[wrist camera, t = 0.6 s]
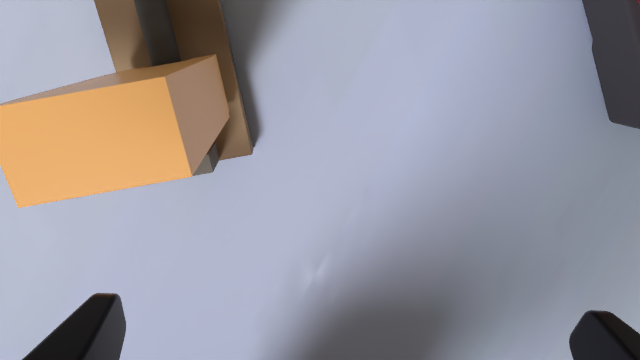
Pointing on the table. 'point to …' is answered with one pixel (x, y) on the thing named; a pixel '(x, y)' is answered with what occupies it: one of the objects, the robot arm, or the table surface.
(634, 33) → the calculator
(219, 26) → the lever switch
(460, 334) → the table surface
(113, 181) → the orange slab
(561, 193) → the table surface
